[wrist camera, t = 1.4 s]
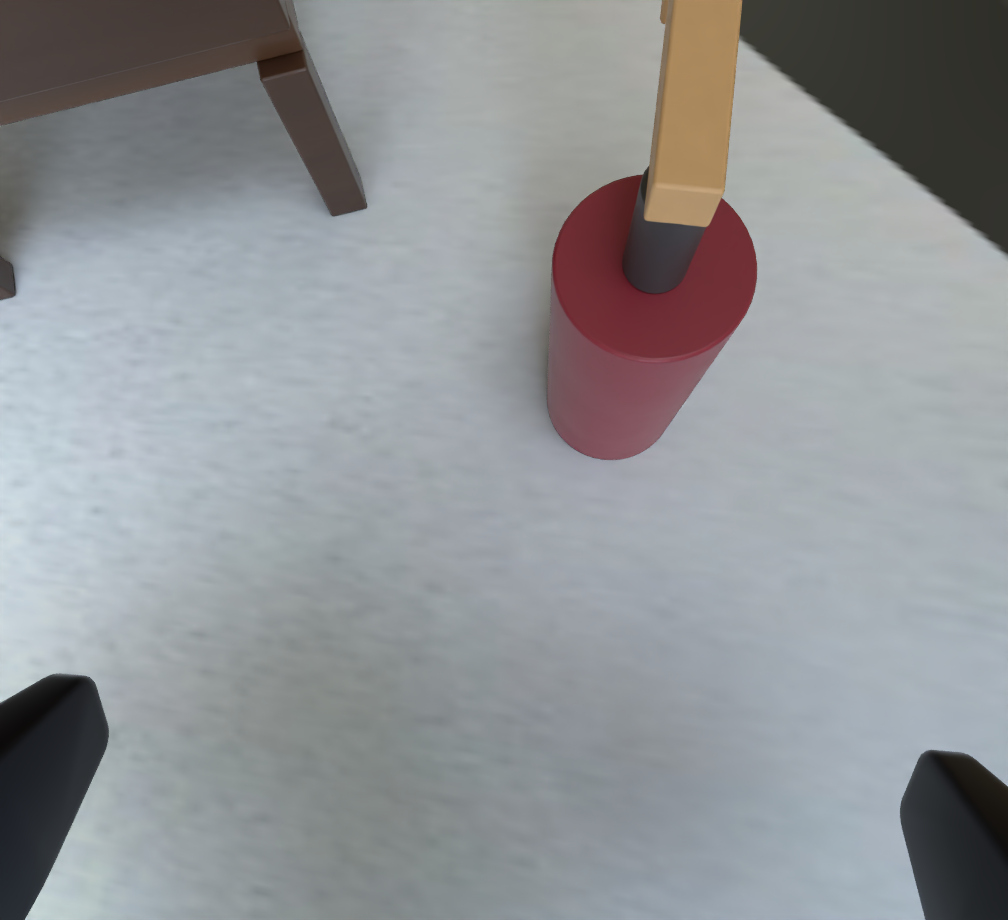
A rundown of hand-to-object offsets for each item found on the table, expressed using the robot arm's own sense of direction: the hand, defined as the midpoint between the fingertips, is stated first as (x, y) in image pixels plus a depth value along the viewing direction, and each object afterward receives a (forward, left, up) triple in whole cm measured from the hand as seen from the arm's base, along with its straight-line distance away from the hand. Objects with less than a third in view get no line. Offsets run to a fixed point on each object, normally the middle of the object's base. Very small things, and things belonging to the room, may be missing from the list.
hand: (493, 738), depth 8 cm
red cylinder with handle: (+8, -6, -13) cm, 17 cm away
